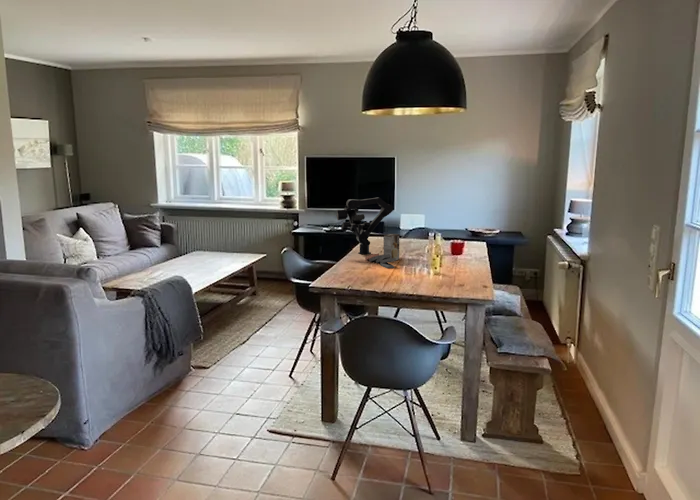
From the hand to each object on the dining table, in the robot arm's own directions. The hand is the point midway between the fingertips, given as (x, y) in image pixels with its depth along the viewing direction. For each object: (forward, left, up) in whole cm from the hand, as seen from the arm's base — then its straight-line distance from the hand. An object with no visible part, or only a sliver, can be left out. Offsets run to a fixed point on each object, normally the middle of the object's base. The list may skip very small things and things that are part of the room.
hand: (359, 236), depth 345 cm
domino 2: (+7, +21, -13) cm, 25 cm away
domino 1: (+5, +14, -13) cm, 20 cm away
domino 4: (+11, +27, -13) cm, 31 cm away
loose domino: (+3, +10, -13) cm, 16 cm away
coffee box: (-6, +21, -14) cm, 26 cm away
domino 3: (+9, +25, -12) cm, 29 cm away
